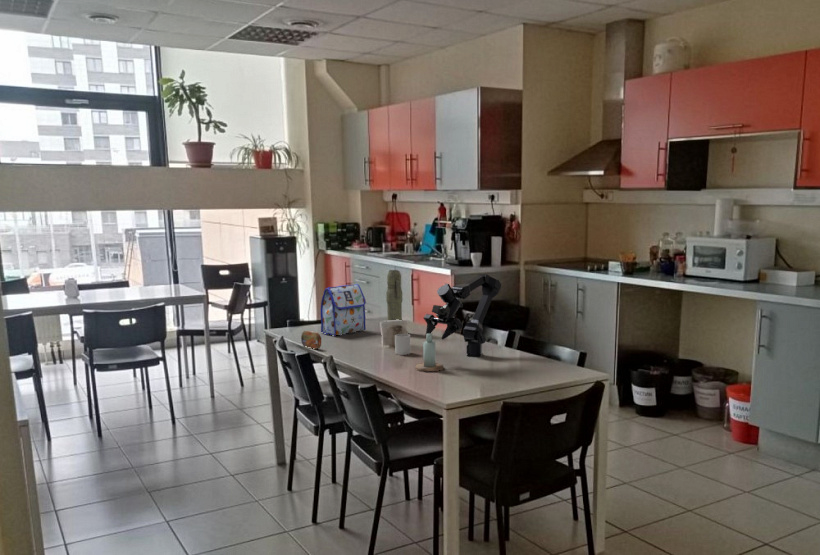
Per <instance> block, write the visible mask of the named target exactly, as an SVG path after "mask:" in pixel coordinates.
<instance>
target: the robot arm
mask: <svg viewBox="0 0 820 555" xmlns="http://www.w3.org/2000/svg"><path fill="white" fill-rule="evenodd" d="M478 287H481V291H482V295H481V298H480V299H479V302H478V305H477V308H476V310H475V311H474V314H473V316H472V319H471V321H466V322H465V325H464V324H463V323H462V322H461V320H460V319H459V318H458V317H457V315H456V313H457V311H458V309H459V308H463V307H464V305H463V301H461V300H466V299H467V298H468V297H470V296H471V292H472V291H474V290H475V289H478ZM501 288H502V284H501V281H500V279H497V278H494V277H492V276H490V275H489V274H487V273H478V274H477V275H476V276H474V277H473V278H471V279H469V280H467V281H465V282H464V283H461V284H459V283H458V284H456V285H453V286H452V287H451V285H450V283H444V285H442V286H440V287H439V288H438V289H437V291H436V292H437V295H438V296H439V298H440V299H441V301H442V302H443V303H445V304H444V305H443V306H442V305H438V304H437V305H436V304H433V305H432V308H431V312H432V313H434V314H435V315H434V314H429V313H426V314H425V315H424V317H423V319H424V321H425V322H426V330H425V335H426V334H428V333H431V334H432V333H433V331H434V330H435V329H436V328H437V326H438V324H442V325H446V328H445V330H444V331H443V334H442V336H441V339H442V340H445V339H446V338H448V337H450V336H452V335H453V334H454V333H457V332H459V331H460V332H461V331H462V329H463V331H462V336H463V340H464V342H465V343H467V345H466V357H475V356H476V357H478V358H479V357H480V356H481V355H482V354H483V355H484V353H483V344H485V343H486V339H487V338H486V336H485V335H484V334H483V332H484V328H483V323H484V320H485V317H486V315H487V313H488V310H489V308H490V305H491V303H492V299H494V298H495V297H496V296H497V295H498V294H499V292H500V290H501ZM460 299H461V300H460ZM435 316H436V317H435ZM463 325H464V326H463ZM463 327H464V328H463ZM483 355H482V356H483ZM482 356H481V357H482Z"/></svg>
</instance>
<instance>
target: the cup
mask: <svg viewBox="0 0 820 555" xmlns="http://www.w3.org/2000/svg"><path fill="white" fill-rule="evenodd" d="M394 348H395V349H394V352H395V355H397V354H398V355H397V356H406V355H407V354H408V355H410V354H411V334H408V333H402V334H396V335H394ZM408 355H407V356H408Z"/></svg>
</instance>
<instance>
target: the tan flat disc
mask: <svg viewBox="0 0 820 555" xmlns="http://www.w3.org/2000/svg"><path fill="white" fill-rule="evenodd" d="M416 369H417V370H416ZM442 369H443V370H444V365H443V364H442V363H440V362H436V366H435V367H424V362H421V363H418V364H416V365H415V370H416V371H418V370H420V371H419V372H421V371H437V372H440V371H439V370H441V371H443V370H442Z"/></svg>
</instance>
